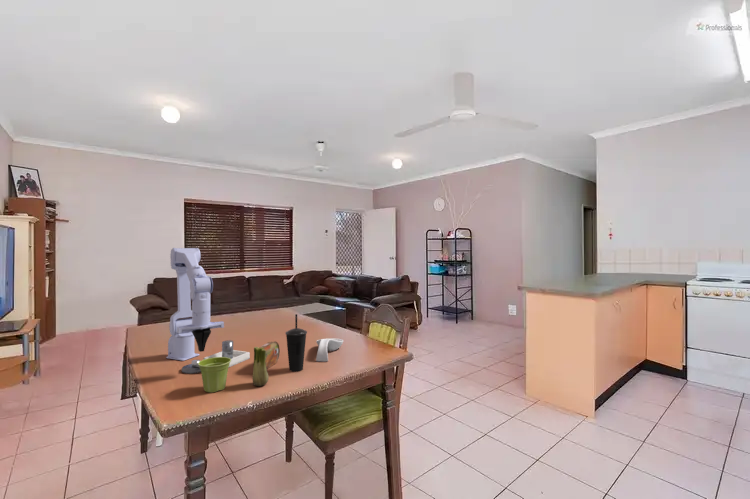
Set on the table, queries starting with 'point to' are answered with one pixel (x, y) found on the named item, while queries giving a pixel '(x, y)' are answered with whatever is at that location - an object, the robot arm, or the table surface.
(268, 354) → the tin
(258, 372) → the fennel bulb
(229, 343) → the cylinder
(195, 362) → the crank
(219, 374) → the plant pot
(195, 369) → the crank base
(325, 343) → the spoon rest
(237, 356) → the tray
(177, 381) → the table surface
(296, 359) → the drinking cup
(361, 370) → the table surface
